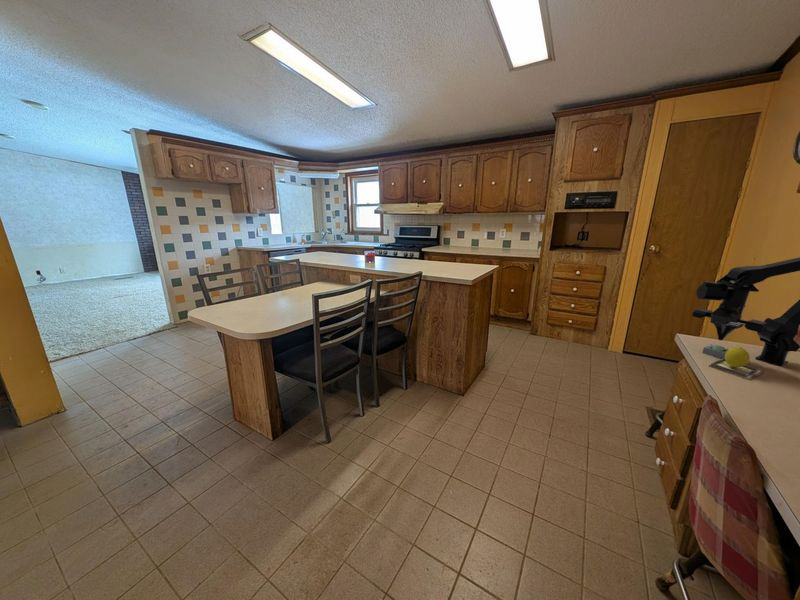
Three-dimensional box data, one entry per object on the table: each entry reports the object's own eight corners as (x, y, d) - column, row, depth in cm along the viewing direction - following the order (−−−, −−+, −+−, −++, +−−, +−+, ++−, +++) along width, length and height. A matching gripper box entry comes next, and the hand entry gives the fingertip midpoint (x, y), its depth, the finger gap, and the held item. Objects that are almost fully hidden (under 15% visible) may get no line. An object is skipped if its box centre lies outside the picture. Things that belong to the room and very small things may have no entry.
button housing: (709, 349, 117) (711, 344, 116) (730, 356, 112) (732, 350, 111) (702, 352, 115) (704, 347, 114) (723, 359, 109) (725, 353, 109)
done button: (713, 351, 115) (715, 344, 114) (723, 355, 113) (726, 347, 112) (709, 353, 114) (711, 345, 113) (719, 356, 111) (722, 349, 110)
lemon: (749, 372, 99) (757, 351, 97) (730, 370, 100) (737, 349, 98) (735, 364, 104) (743, 344, 102) (717, 363, 105) (724, 343, 103)
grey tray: (722, 360, 109) (723, 356, 109) (762, 372, 100) (764, 369, 100) (708, 366, 105) (709, 362, 104) (748, 380, 96) (750, 376, 95)
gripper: (690, 297, 112) (679, 334, 117) (762, 312, 96) (746, 354, 100) (704, 294, 116) (693, 330, 121) (776, 307, 100) (760, 348, 105)
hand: (720, 340), depth 112 cm, fingers closed
